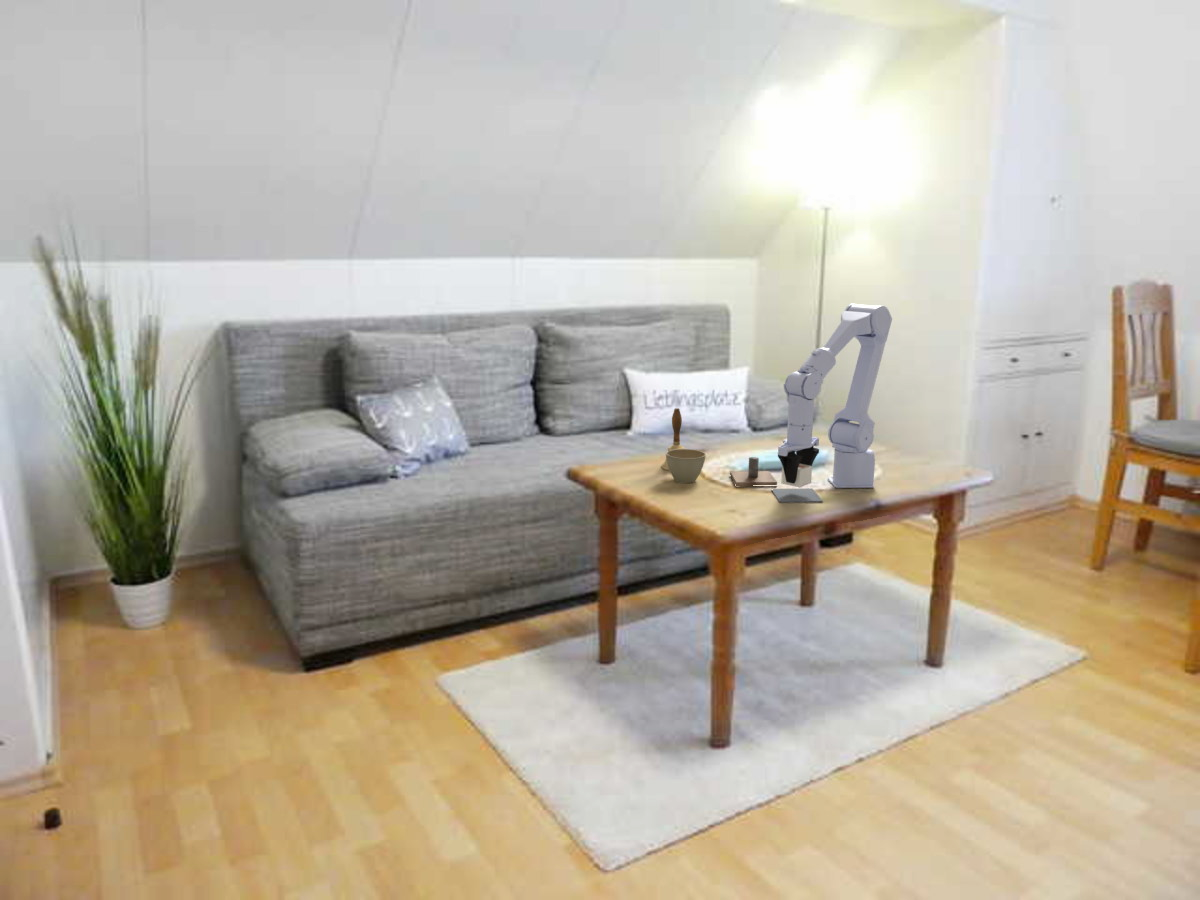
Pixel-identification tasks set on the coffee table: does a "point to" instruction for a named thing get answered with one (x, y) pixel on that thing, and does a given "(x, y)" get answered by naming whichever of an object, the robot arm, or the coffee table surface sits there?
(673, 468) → the flower pot
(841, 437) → the robot arm
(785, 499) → the mat
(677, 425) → the hand bell
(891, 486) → the coffee table surface
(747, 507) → the coffee table surface
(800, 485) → the cream cube
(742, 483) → the post stand
